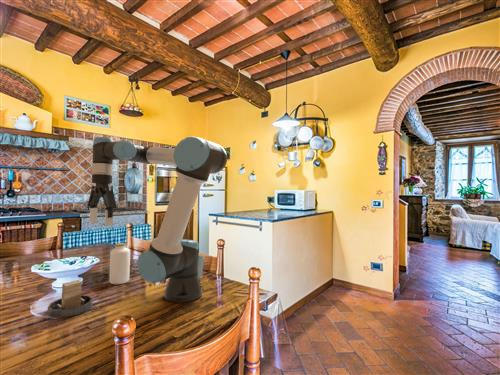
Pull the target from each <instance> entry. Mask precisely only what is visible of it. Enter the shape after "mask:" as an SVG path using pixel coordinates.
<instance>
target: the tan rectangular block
mask: <svg viewBox="0 0 500 375" xmlns="http://www.w3.org/2000/svg"><path fill="white" fill-rule="evenodd" d="M61 288H62V289H61V299H62V306H63V310H64V309H71V308H76V307H79V306H81V295H82V281H80V280H79V279H78V280H73V281H69V282H64V283H62V285H61Z"/></svg>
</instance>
